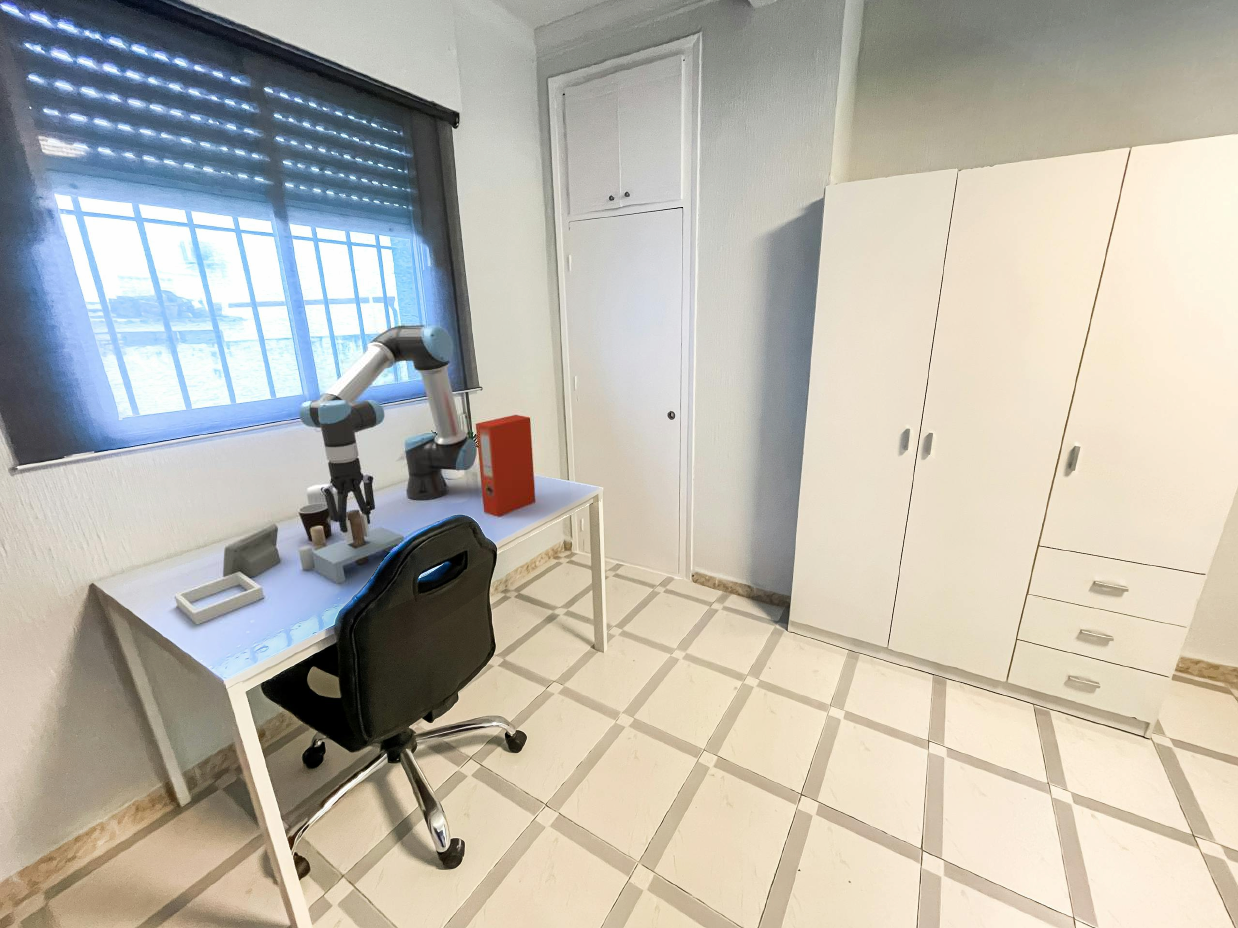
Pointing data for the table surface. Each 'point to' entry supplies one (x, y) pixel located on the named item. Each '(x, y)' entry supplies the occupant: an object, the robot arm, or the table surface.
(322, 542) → the medium dowel
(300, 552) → the short dowel
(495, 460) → the file binder
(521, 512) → the table surface
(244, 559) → the digital clock
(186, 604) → the frame
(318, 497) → the photo printer
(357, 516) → the long dowel
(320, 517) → the coffee mug
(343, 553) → the bridge
